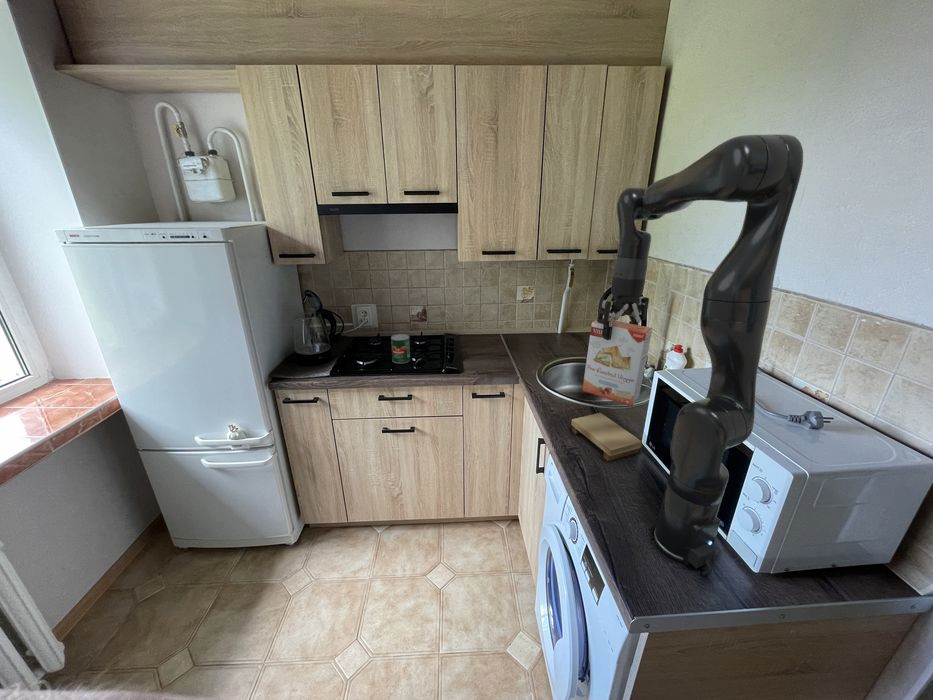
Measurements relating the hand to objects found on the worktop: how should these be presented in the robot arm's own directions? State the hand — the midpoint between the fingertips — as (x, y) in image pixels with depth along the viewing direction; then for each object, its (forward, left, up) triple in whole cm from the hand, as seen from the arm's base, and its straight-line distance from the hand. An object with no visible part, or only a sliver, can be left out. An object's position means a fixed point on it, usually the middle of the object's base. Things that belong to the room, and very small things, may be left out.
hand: (619, 337), depth 100 cm
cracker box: (0, 0, -17) cm, 17 cm away
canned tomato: (+84, +40, -33) cm, 98 cm away
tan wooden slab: (+1, -1, -33) cm, 33 cm away
